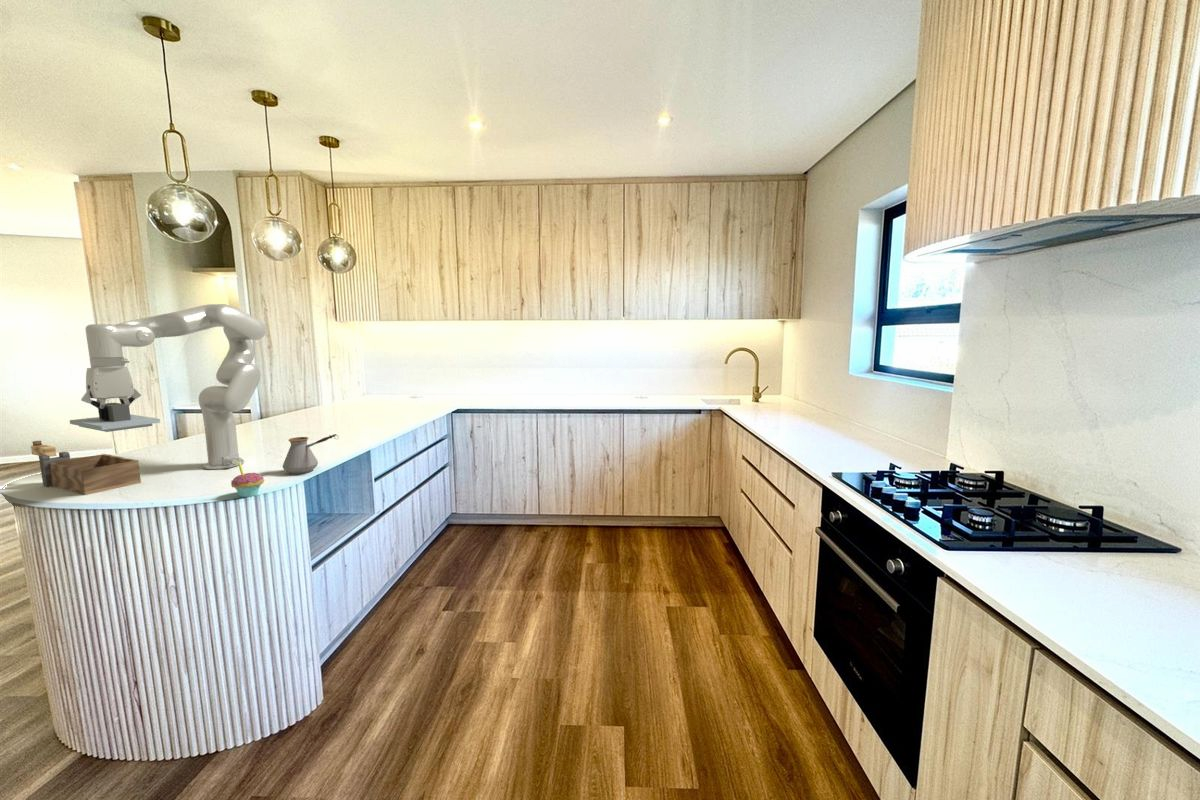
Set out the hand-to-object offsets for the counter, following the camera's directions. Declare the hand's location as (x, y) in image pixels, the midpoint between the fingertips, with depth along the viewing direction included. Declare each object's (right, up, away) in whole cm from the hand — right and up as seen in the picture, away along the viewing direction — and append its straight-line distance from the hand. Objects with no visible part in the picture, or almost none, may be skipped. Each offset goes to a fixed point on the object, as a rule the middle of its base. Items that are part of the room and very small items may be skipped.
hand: (115, 418), depth 153 cm
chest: (-17, -23, +9) cm, 30 cm away
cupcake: (+44, -25, 0) cm, 50 cm away
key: (-35, -13, +10) cm, 39 cm away
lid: (0, -3, 0) cm, 2 cm away
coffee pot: (+49, -22, +26) cm, 59 cm away
